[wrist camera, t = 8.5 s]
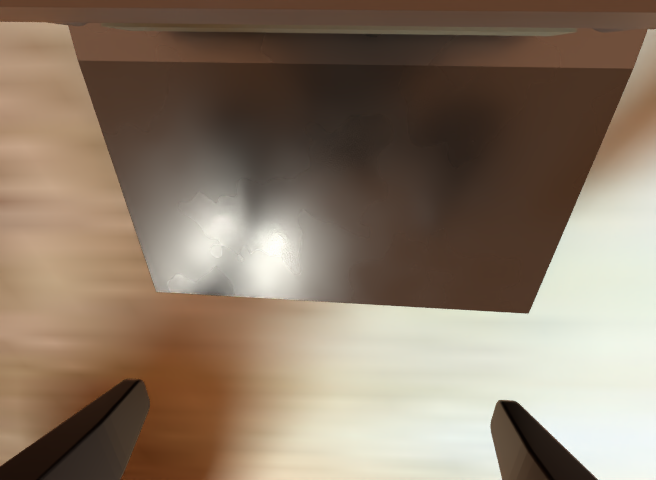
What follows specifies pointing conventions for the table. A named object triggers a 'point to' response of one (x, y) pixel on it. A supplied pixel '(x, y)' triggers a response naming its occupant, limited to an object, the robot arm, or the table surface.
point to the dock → (353, 157)
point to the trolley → (343, 15)
